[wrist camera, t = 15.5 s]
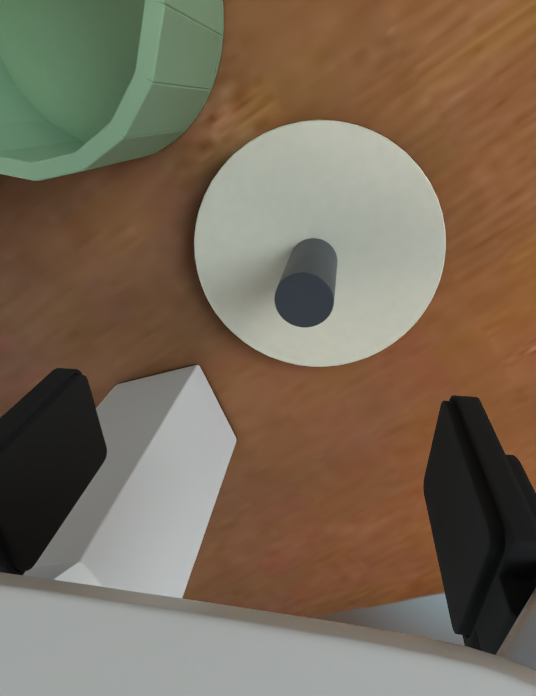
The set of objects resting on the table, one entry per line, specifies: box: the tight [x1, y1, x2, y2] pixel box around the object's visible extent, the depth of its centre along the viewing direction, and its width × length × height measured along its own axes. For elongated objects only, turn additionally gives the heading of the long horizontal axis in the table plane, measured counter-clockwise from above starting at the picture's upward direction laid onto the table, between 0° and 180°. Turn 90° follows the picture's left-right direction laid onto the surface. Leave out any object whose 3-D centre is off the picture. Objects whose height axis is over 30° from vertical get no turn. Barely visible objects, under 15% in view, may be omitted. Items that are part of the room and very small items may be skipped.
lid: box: [194, 120, 446, 367], centre depth 21 cm, size 14×14×7 cm
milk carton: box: [23, 365, 236, 598], centre depth 24 cm, size 7×7×19 cm
